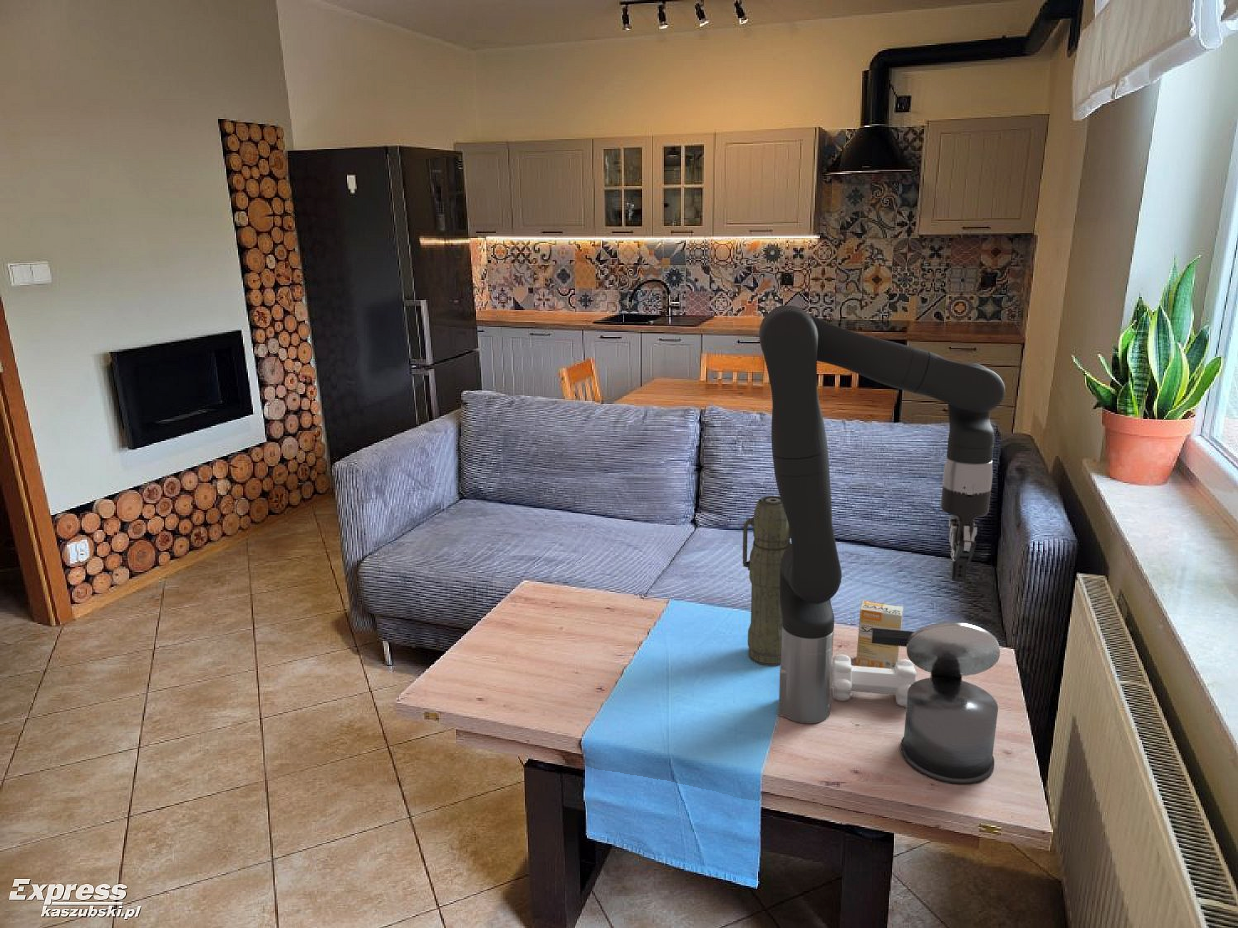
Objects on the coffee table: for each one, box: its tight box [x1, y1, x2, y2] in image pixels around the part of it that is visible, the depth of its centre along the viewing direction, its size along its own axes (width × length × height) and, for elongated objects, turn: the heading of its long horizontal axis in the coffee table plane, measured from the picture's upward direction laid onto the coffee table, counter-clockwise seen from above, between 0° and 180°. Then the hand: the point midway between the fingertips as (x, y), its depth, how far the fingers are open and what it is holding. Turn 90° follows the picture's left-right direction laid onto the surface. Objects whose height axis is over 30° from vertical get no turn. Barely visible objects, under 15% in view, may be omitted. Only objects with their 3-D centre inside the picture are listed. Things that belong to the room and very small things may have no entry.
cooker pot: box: [900, 674, 999, 786], centre depth 137 cm, size 15×16×11 cm
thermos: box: [742, 495, 791, 668], centre depth 167 cm, size 9×12×35 cm
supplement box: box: [855, 600, 904, 669], centre depth 166 cm, size 8×5×13 cm, turn 68°
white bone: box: [831, 653, 918, 707], centre depth 155 cm, size 15×9×8 cm, turn 78°
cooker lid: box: [872, 621, 1001, 679], centre depth 139 cm, size 20×15×3 cm
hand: (957, 579), depth 141 cm, fingers closed
